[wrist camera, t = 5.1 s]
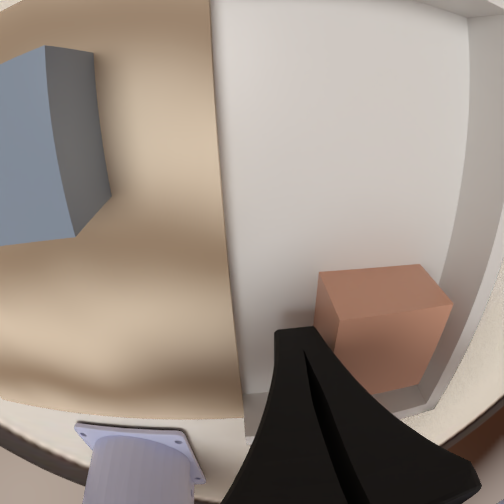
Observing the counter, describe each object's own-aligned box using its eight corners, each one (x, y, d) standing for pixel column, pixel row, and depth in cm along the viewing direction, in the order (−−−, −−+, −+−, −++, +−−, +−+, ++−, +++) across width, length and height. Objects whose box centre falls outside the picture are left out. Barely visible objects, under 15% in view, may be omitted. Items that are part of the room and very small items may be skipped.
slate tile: (111, 196, 8) (75, 237, 6) (6, 213, 8) (-39, 251, 6) (93, 52, 6) (44, 45, 4) (-16, 93, 6) (-72, 105, 4)
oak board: (242, 376, 16) (244, 417, 13) (17, 369, 15) (3, 399, 13) (211, -22, 7) (207, -51, 5) (-78, 87, 7) (-113, 97, 5)
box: (405, 353, 16) (434, 408, 12) (242, 376, 16) (246, 444, 12) (453, 9, 8) (525, 0, 4) (211, -22, 7) (203, -75, 4)
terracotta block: (396, 342, 13) (418, 384, 11) (309, 354, 13) (322, 403, 10) (419, 263, 11) (453, 303, 9) (318, 271, 11) (339, 320, 9)
